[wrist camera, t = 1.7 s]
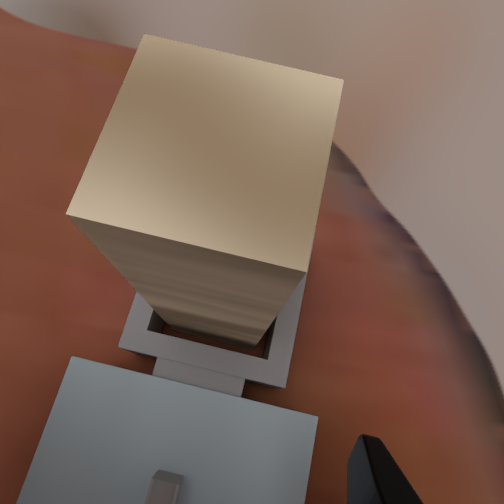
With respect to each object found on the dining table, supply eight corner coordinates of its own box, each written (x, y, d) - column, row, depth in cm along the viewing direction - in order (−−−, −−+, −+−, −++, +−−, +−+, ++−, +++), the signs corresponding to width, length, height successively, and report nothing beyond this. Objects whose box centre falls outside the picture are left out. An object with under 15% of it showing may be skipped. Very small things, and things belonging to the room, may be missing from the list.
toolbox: (230, 794, 15) (233, 1045, 10) (-23, 727, 16) (-173, 932, 10) (325, 260, 23) (359, 216, 17) (154, 219, 23) (129, 162, 17)
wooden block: (252, 350, 21) (306, 272, 7) (173, 330, 21) (65, 214, 7) (269, 273, 22) (343, 79, 8) (195, 255, 23) (144, 33, 8)
